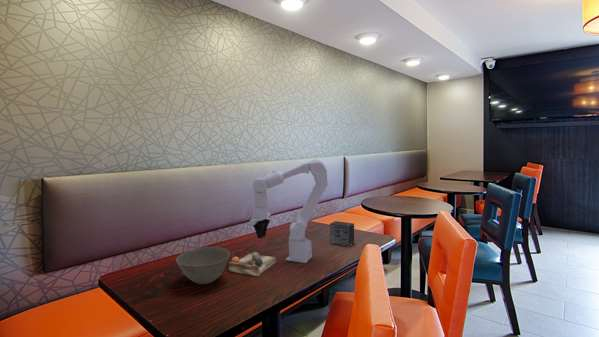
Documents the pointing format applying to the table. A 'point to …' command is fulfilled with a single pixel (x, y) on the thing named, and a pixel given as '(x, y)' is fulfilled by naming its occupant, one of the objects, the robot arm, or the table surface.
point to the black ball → (258, 262)
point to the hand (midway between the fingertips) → (261, 237)
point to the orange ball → (235, 259)
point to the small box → (342, 233)
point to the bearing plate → (251, 265)
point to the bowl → (203, 263)
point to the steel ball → (255, 255)
